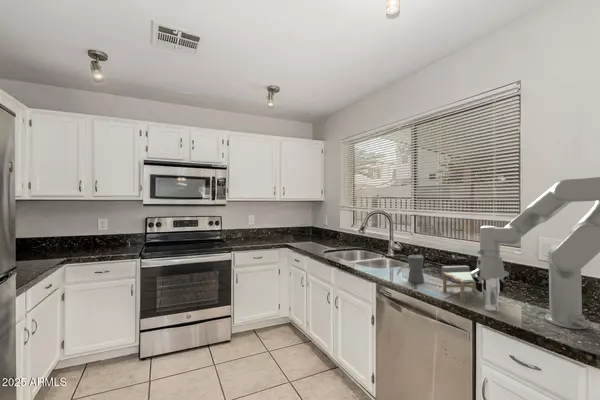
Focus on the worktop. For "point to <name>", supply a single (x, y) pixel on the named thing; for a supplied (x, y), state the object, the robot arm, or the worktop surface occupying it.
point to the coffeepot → (416, 268)
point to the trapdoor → (459, 272)
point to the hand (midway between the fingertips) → (489, 291)
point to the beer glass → (491, 294)
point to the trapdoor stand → (457, 285)
